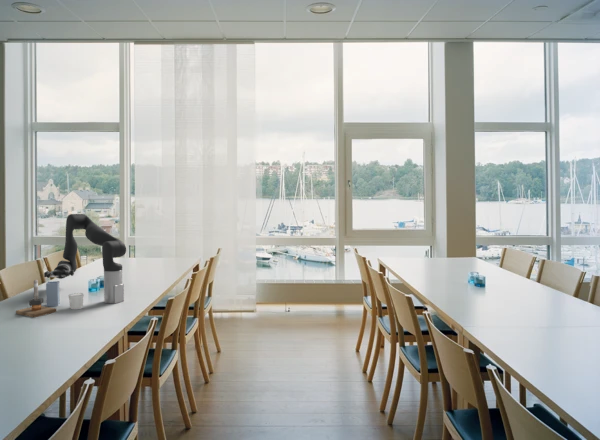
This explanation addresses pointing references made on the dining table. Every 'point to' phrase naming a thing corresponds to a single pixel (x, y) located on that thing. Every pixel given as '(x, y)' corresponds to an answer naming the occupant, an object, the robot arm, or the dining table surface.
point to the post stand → (36, 306)
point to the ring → (36, 301)
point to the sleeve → (52, 293)
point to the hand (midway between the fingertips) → (57, 275)
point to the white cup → (76, 300)
